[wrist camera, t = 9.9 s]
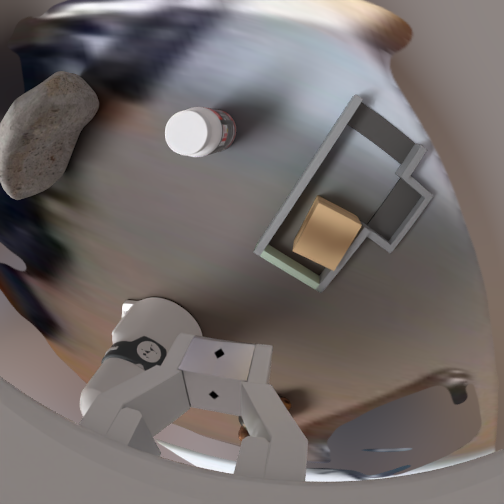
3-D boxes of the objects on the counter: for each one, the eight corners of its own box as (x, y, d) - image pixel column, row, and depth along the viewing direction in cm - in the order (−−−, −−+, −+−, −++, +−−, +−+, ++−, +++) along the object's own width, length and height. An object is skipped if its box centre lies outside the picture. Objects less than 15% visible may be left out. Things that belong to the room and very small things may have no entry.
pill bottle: (239, 111, 33) (217, 106, 24) (234, 154, 36) (210, 163, 27) (197, 108, 34) (163, 104, 25) (193, 149, 36) (158, 158, 28)
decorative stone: (83, 67, 33) (117, 94, 35) (39, 159, 41) (66, 190, 43) (5, 61, 18) (34, 91, 20) (-29, 181, 26) (-4, 221, 27)
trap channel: (345, 299, 42) (347, 308, 39) (256, 244, 41) (253, 252, 38) (444, 170, 31) (452, 173, 29) (352, 96, 30) (355, 94, 28)
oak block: (331, 257, 40) (334, 271, 36) (294, 239, 40) (292, 251, 36) (356, 215, 36) (361, 225, 33) (317, 194, 36) (318, 202, 33)
